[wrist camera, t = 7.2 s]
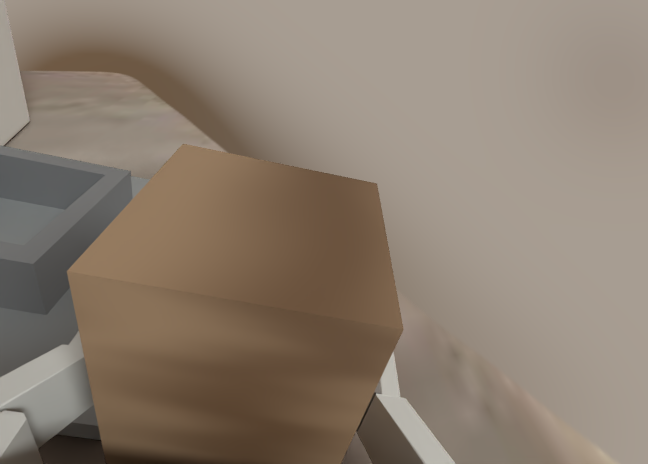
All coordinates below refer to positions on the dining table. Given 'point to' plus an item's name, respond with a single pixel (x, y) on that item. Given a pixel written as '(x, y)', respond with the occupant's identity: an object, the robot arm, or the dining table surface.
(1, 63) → the milk carton
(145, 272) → the walnut block
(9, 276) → the socket base
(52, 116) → the dining table surface
